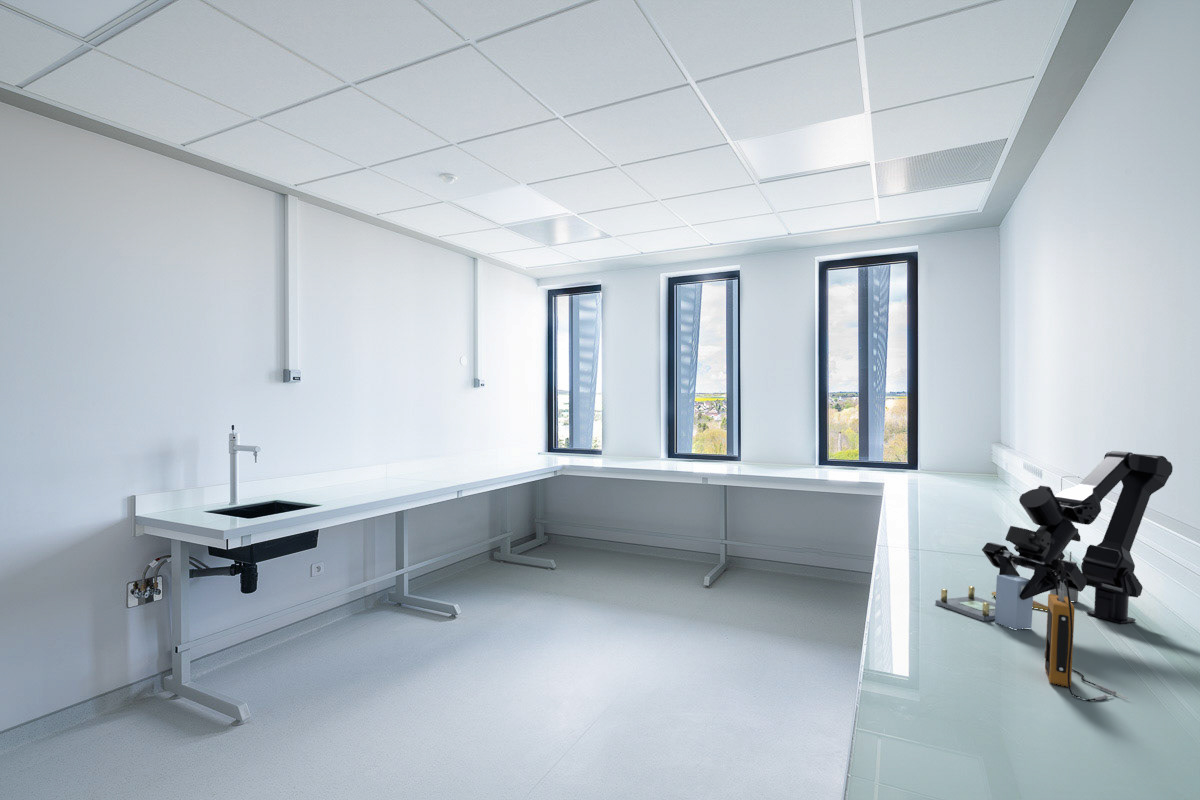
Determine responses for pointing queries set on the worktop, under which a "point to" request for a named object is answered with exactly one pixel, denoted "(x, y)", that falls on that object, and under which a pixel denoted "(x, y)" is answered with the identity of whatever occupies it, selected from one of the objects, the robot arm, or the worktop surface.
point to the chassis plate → (969, 605)
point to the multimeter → (1062, 638)
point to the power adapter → (1072, 592)
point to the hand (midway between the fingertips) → (1009, 594)
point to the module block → (1012, 602)
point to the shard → (1035, 604)
